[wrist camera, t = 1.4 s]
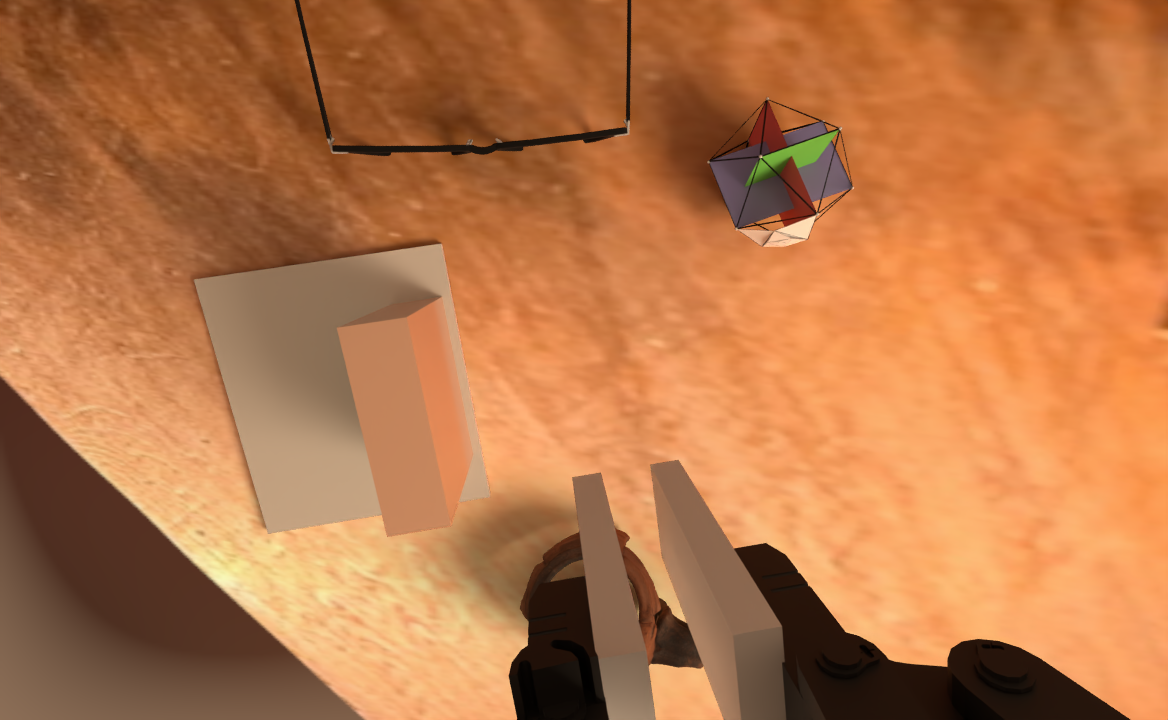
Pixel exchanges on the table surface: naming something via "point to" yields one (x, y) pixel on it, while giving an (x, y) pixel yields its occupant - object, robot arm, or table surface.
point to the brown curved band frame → (658, 625)
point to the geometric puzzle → (780, 178)
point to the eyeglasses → (468, 147)
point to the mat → (316, 377)
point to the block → (409, 412)
